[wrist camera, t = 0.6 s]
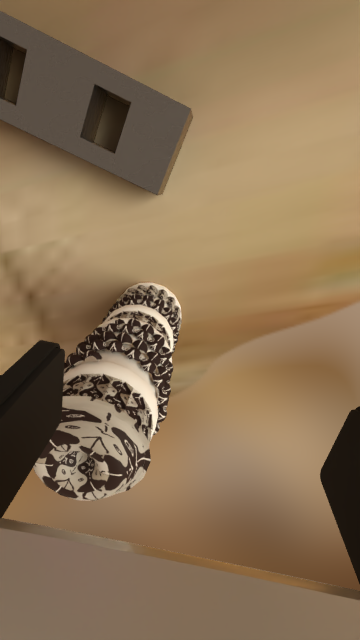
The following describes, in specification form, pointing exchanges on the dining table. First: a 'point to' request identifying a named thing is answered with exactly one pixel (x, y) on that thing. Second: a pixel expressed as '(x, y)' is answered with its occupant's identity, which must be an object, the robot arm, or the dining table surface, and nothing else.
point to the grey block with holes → (89, 107)
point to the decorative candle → (114, 397)
